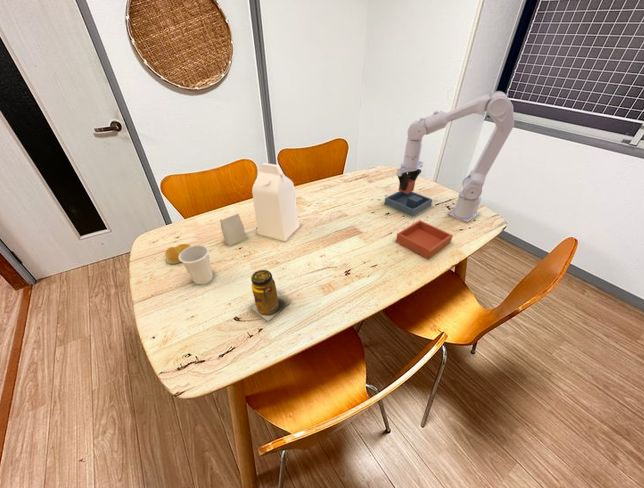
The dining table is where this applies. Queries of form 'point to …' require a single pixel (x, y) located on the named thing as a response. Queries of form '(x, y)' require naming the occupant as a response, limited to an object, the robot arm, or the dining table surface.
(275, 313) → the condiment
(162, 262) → the dining table surface
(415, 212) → the slate bin
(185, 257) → the dixie cup
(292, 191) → the milk
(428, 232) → the terracotta bin
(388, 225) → the dining table surface
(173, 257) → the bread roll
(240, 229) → the grey wedge block
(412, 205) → the slate block
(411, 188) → the terracotta block
